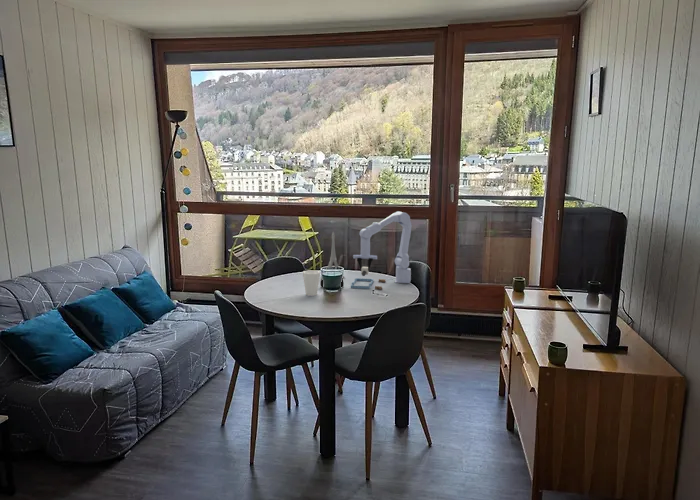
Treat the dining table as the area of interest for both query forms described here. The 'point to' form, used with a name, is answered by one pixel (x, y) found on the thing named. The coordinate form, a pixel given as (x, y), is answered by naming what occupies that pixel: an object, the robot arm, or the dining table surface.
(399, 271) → the robot arm
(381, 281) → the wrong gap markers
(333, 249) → the eiffel tower
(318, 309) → the dining table surface
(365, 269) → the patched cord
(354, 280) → the tray
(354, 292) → the dining table surface
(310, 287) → the foam cup
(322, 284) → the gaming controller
